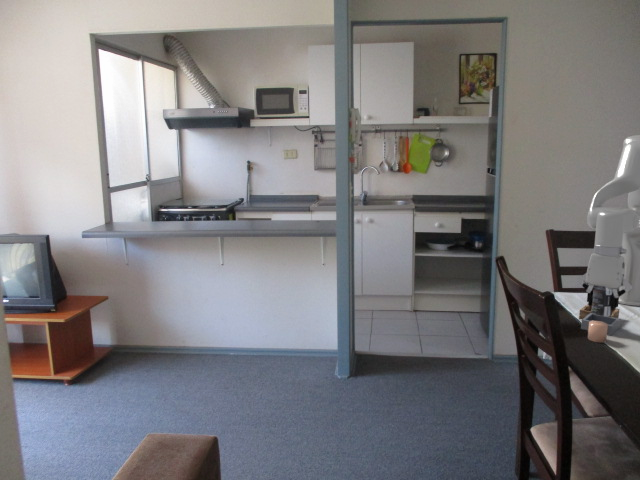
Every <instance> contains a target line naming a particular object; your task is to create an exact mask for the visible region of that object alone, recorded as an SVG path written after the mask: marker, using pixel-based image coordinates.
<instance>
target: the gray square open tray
mask: <svg viewBox="0 0 640 480" xmlns="http://www.w3.org/2000/svg"><path fill="white" fill-rule="evenodd" d="M590 321H601V322H605V323H607V324H608V328H607V336H612V335H614V334H615V332H616V331H618V329H619V328H620V321H621V318H613V317H608V316H598V315H595V314H593V313H590V314H588V315H587V316H586V317H585V318H583V319H582V320H581V322H580V323H581V324H580V325H581V326H580V329H581V330H585V331H588V329H589V322H590Z"/></svg>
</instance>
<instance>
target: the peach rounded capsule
mask: <svg viewBox="0 0 640 480" xmlns="http://www.w3.org/2000/svg"><path fill="white" fill-rule="evenodd" d="M607 328H608V324H607V323H605V322H601V321H590V322H589V329H588V330H587V339H588V340H589V341H591V342H594V343H606V342H607V337H608V335H607Z"/></svg>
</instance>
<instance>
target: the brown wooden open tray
mask: <svg viewBox="0 0 640 480" xmlns="http://www.w3.org/2000/svg"><path fill="white" fill-rule="evenodd" d="M591 306H592V305H590V306H589V305H588V303H587V304H586V305H585V306H583V307H582V308H581V309H579V313H578V314H579V316H578V319H579V320H580V319H583V318H585V317H586V316H587V315H588V314H590V313H591ZM619 316H620V308H617V307H616V308H615V309H614V310H612V315H611V316H608V317H613V318H618V319H620V317H619Z"/></svg>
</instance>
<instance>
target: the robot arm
mask: <svg viewBox="0 0 640 480" xmlns="http://www.w3.org/2000/svg"><path fill="white" fill-rule="evenodd" d="M625 194H627V195H628V196H627V207H628V208H622V207H610V206H604V205H605V204H606V203H607V202H608V201H609V200H611V199H613V198H615V197H620V196H622V195H625ZM637 212H638V213H640V134H638V135H637V134H636V135H631V136H627V137H625V139H624V140H623V143H622V149H621V154H620V158H619V161H618V164H617V167H616V171H615V174H614V178H613V179H612V180H610V181H608V182H607V183H605V184H604V185H603V186H601V188H599V189H598V190H597V191H596V193H595V194H594V195H593V196H592V199H591V201H590V204H589V208H588V212H587V216H586V223H587V225H588V226H589V228H591V229H593V230H595V236H594V245H593V246H594V247H593V252H591V255H590V257H589V261H588V265H587V270H586V272H585V273H584V274H583V275H581V276H580V277H579V278H577V281H578V282H579V284H580V285H581V286H582V287H583V289H585V291H586V294H587V296H586V302H587V304H588V305H589V306H590V305H592V295H593V287H594V286H603V287H607V288H612V291H613V294H614V297H613V298H612V304H611V309H612V310H614V309H615V308H616V309H617V308H618V307H619V304H620V305H621V304H622V305H627V306H636V307H637V306H638V307H640V215H639V214H638V213H637Z"/></svg>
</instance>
